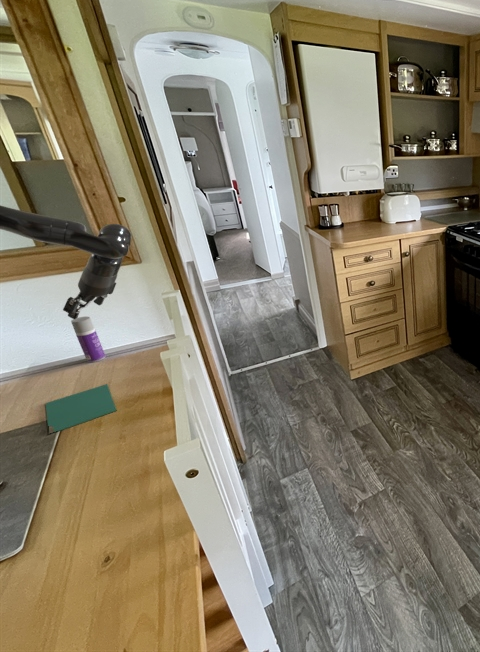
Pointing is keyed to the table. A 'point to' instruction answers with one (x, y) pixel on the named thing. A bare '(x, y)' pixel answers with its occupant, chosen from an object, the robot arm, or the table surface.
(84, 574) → the table surface
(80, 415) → the napkin
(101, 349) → the container
